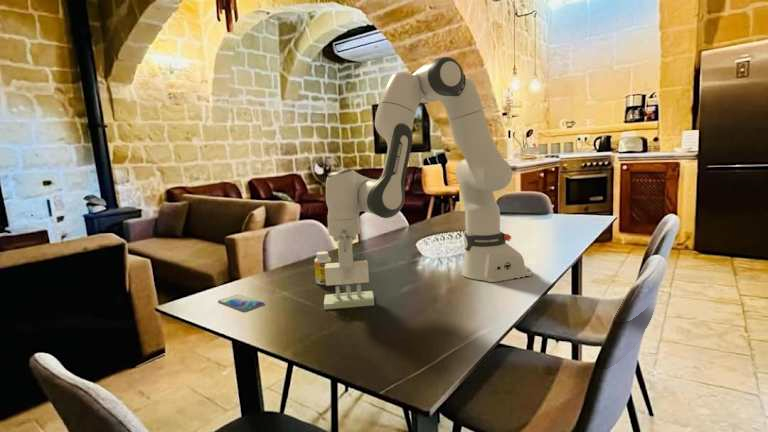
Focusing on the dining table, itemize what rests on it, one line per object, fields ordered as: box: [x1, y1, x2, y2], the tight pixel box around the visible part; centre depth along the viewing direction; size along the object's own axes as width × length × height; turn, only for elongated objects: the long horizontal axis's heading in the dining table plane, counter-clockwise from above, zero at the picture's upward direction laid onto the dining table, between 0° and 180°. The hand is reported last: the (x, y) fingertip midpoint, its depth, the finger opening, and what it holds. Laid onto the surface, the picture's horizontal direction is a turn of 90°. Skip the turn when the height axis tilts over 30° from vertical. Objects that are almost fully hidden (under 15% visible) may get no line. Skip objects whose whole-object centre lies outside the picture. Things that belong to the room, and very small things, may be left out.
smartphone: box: [217, 294, 266, 313], centre depth 126 cm, size 7×1×15 cm
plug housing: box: [325, 259, 370, 287], centre depth 120 cm, size 12×5×5 cm, turn 95°
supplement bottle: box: [313, 250, 332, 286], centre depth 141 cm, size 6×6×10 cm
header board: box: [323, 283, 375, 311], centre depth 121 cm, size 14×8×5 cm, turn 95°
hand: (347, 275), depth 120 cm, fingers closed on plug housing, 5 cm apart
